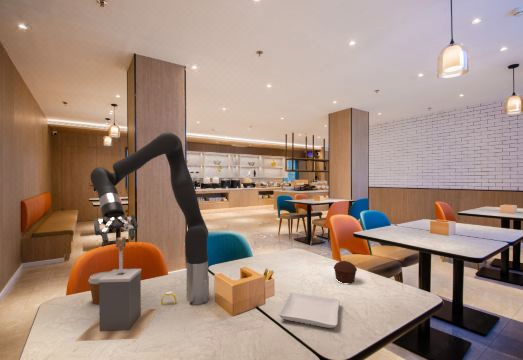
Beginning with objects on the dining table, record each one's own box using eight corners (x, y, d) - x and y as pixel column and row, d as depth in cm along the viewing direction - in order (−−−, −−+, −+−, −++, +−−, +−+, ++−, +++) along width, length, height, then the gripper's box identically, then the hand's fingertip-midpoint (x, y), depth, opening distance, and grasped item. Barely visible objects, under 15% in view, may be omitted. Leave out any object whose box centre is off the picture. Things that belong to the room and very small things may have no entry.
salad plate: (339, 306, 111) (339, 298, 111) (337, 334, 91) (337, 324, 91) (290, 299, 118) (290, 291, 118) (277, 323, 98) (277, 314, 98)
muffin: (359, 279, 140) (359, 261, 140) (354, 287, 130) (354, 266, 130) (336, 275, 146) (336, 257, 146) (330, 282, 137) (330, 262, 137)
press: (141, 315, 102) (141, 268, 102) (129, 330, 92) (129, 278, 92) (110, 316, 101) (109, 269, 101) (94, 331, 91) (94, 279, 91)
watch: (176, 305, 113) (177, 291, 113) (175, 308, 110) (176, 293, 110) (161, 305, 112) (162, 291, 112) (160, 308, 110) (161, 293, 110)
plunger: (134, 290, 100) (134, 235, 100) (126, 298, 93) (126, 240, 93) (116, 290, 100) (115, 236, 100) (106, 299, 93) (106, 240, 93)
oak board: (158, 311, 107) (158, 308, 107) (138, 341, 87) (138, 338, 87) (107, 312, 106) (107, 310, 106) (75, 343, 86) (75, 340, 86)
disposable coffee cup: (102, 309, 109) (102, 280, 109) (82, 307, 111) (82, 278, 111) (119, 299, 118) (119, 272, 118) (100, 297, 120) (100, 270, 120)
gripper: (92, 202, 99) (99, 237, 90) (132, 199, 108) (142, 231, 100) (89, 214, 103) (96, 250, 94) (128, 211, 112) (138, 243, 104)
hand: (120, 240), depth 97 cm, fingers open, 8 cm apart
